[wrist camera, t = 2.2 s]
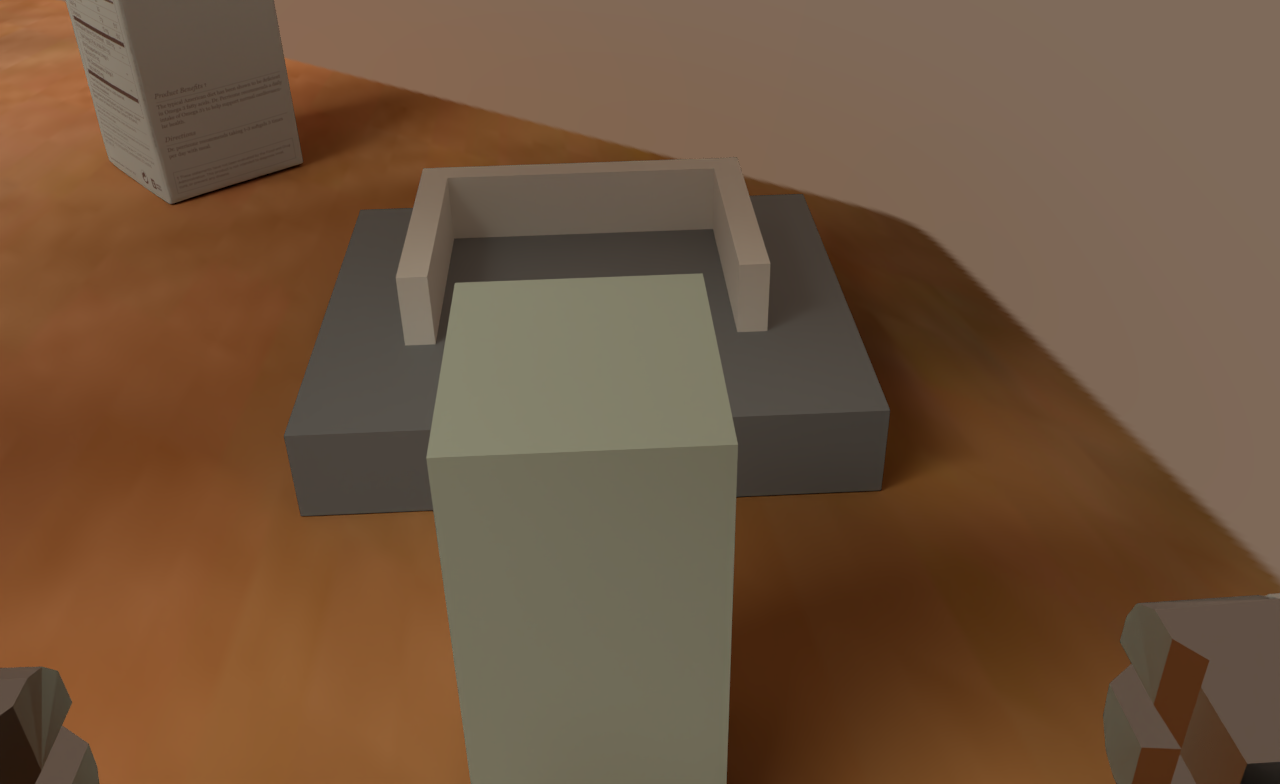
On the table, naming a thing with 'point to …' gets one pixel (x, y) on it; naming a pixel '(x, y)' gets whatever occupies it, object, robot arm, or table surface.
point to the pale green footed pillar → (587, 529)
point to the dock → (586, 248)
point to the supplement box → (188, 90)
